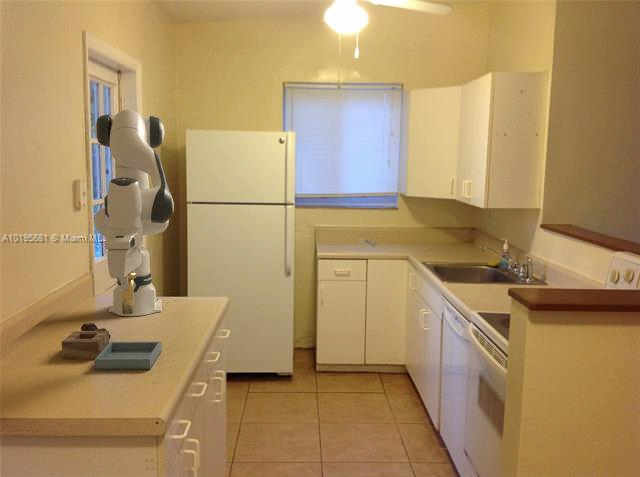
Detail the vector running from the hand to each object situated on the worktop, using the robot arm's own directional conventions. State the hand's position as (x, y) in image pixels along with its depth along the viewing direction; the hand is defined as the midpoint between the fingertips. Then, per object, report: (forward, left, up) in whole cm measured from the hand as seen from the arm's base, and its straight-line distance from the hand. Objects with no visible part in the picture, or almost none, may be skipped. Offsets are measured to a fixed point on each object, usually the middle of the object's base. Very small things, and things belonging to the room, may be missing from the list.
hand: (127, 287), depth 158 cm
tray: (0, 0, -21) cm, 21 cm away
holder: (-7, -14, -21) cm, 26 cm away
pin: (0, 0, -7) cm, 7 cm away
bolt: (-19, -16, -21) cm, 33 cm away
